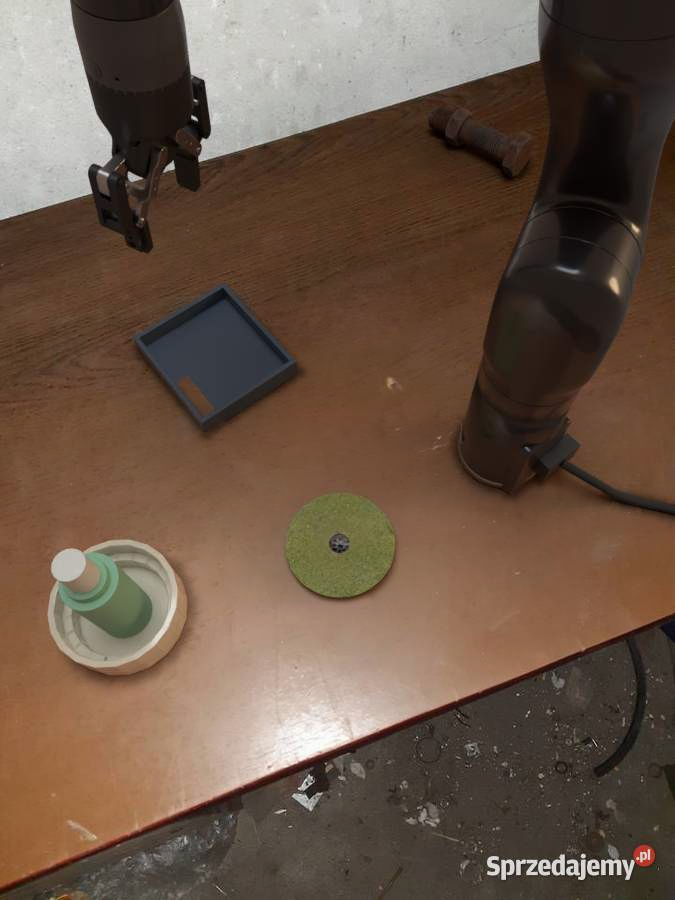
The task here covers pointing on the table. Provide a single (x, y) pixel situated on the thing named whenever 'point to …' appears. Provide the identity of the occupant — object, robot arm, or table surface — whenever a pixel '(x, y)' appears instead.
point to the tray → (216, 354)
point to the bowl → (136, 651)
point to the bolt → (483, 138)
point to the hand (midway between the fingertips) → (166, 216)
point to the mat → (340, 545)
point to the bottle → (101, 592)
